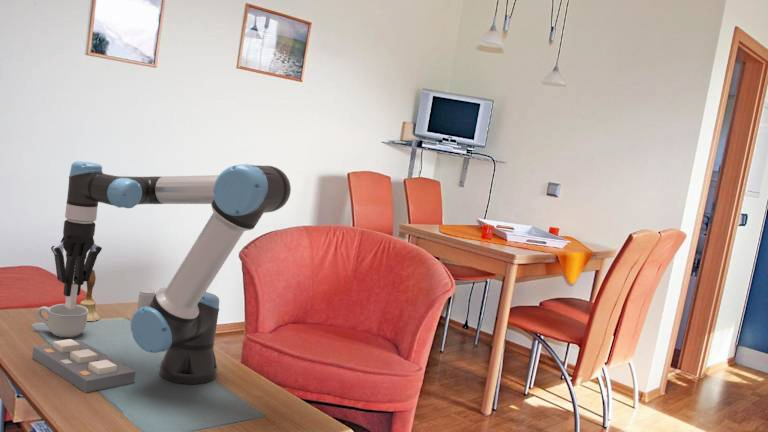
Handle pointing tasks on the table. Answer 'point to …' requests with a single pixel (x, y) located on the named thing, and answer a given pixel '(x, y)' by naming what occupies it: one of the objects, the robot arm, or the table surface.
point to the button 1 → (66, 346)
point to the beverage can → (145, 298)
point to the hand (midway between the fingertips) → (70, 307)
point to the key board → (82, 368)
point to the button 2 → (102, 367)
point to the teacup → (64, 319)
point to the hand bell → (88, 302)
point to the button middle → (83, 356)
